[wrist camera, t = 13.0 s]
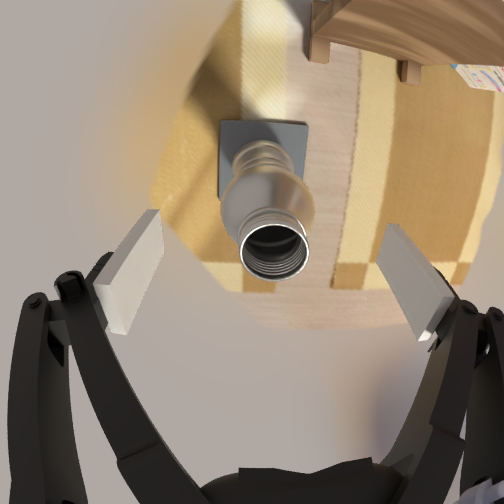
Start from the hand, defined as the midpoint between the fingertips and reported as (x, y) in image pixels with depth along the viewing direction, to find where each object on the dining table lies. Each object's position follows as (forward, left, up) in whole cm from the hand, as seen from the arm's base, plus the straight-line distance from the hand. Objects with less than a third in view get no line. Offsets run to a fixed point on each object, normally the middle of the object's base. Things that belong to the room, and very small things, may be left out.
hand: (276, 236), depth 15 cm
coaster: (0, 0, -19) cm, 19 cm away
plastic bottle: (0, 0, -19) cm, 19 cm away
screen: (-17, +11, -19) cm, 28 cm away
